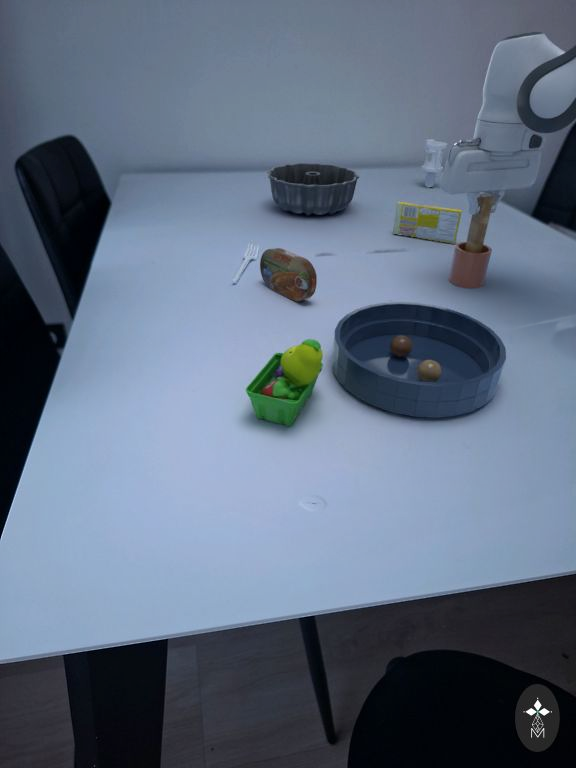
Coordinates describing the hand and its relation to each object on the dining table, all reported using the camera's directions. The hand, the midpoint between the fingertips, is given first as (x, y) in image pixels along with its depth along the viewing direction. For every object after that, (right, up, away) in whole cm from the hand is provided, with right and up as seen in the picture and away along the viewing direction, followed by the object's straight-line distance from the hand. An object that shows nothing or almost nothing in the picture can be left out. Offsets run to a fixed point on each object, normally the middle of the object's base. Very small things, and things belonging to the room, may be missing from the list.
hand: (481, 213), depth 106 cm
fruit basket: (-38, -37, -29) cm, 61 cm away
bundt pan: (-32, +18, +53) cm, 65 cm away
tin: (-39, -16, +3) cm, 42 cm away
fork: (-48, -8, +14) cm, 51 cm away
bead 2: (-17, -32, -25) cm, 44 cm away
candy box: (-3, +4, +32) cm, 33 cm away
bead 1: (-20, -28, -19) cm, 39 cm away
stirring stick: (0, -12, +8) cm, 14 cm away
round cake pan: (-19, -32, -21) cm, 42 cm away
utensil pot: (0, -12, +8) cm, 15 cm away
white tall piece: (+10, +34, +77) cm, 85 cm away
